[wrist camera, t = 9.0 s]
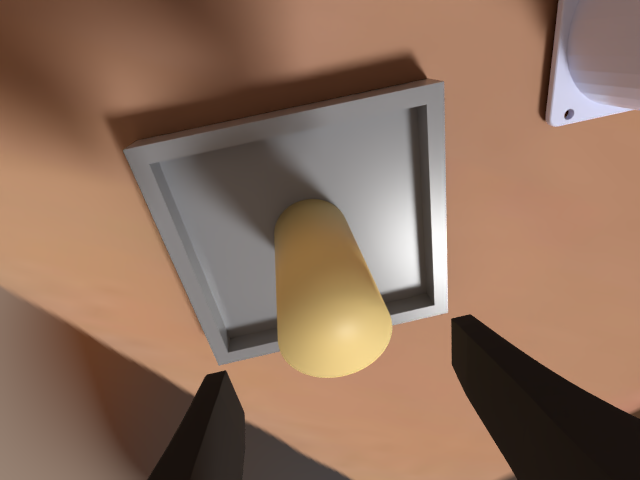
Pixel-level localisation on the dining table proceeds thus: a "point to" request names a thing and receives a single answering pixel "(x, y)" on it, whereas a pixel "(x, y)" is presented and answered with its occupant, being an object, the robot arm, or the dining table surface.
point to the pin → (325, 294)
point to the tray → (296, 185)
